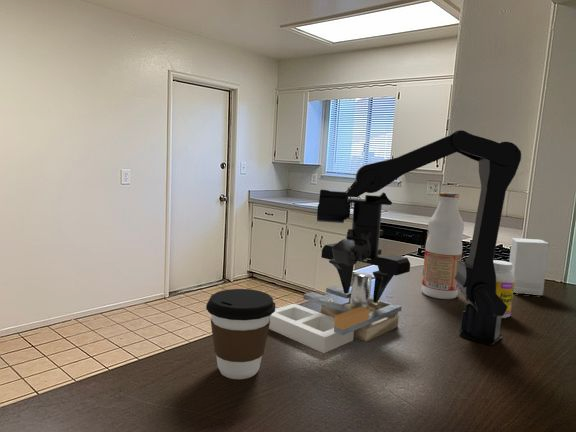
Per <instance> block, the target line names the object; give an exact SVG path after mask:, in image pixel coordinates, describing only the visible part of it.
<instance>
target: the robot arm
mask: <svg viewBox="0 0 576 432" xmlns="http://www.w3.org/2000/svg"><path fill="white" fill-rule="evenodd" d="M456 153H458V154H460V155H462V156H464V157H466V158H468V159H470V160H473V161H475V162H477V163H478V175H479V180H480V187H481V188H480V195H479V199H478V206H477V212H476V216H475V222H474V229H473V233H472V239H471V245H470V251H469V255H468V257H467V258H466V260H465V261H462V260H461V261H458V271H457V274H456V276H455V278H454V279H455V280H456V281H457V285H458V290H459V291H460V292H461V294H463V295H464V296H465V300H466V301H467V302H468V304H466V305H465V307H464V309H465V310H463V311H462V314H461V321H460V322H461V323H460V332H459V336H460V337H464V338H467V339H469V340H473V341H475V342H479V343H483V344H485V345H489V346H493V345H495V344H496V343H497V342H498V341H500V340H501V339H502V338H503V335H502V334H501V324H502V318H501V317H502V316H503V315H504V313H505V311H506V310H507V305H506V304H505V303H504V302H503V301H502V300H501V299H500V298H499V297H498V295H497V294H496V273H495V267H494V262H493V260H495V259H494V257H495V252H496V248H497V241H498V235H499V231H500V224H501V220H502V219H501V218H502V214H503V209H504V203H505V197H506V192H507V190H508V188H509V186H510V184H511V183H512V181H513V179H514V177H515V176H516V174H517V171H518V169H519V166H520V163H521V160H522V151H521V149H520V148H519V147H518V146H517V145H516V144H515V143H513V142H509V141H499V142H497V141H494V140H492V139H488V138H485V137H481V136H480V135H479V136H478V135H475V134H472V133H470V132H467V131H465V130H460V129H459V130H455V131H452V132H451V133H450V132H449V134H447V135H446V136H444V137H441V138H439V139H436V140H435V141H432V142H430V143H428V144H425V145H423V146H420V147H417V148H416V149H413V150H411V151H408V152H406V153H403V154H401V155H399V156H397V157H394V158H390V159H384V160H381V161H376V162H372V163H367V164H364V165H362V166H360V167H359V169H357V171H356V174H355V177H354V178H355V180H354V181H353V183H352V184H351V185H350V186H348V187H347V190H346V191H342V190H340V191H337V190H330V189H323V188H321V189H320V190H319V198H318V205H317V210H316V213H317V214H316V222H320V223H331V224H332V223H336V224H344V223H345V221H347V220H350V217H351V204H352V203H353V211H352V222H351V223H352V224H351V228H348V229H347V232H346V238H343V239H341V240H339V241H338V242H335V243H329V244H324V246H323V247H322V248H321V255H320V258H321V259H326V260H328V262H329V264H331V265H332V266H334V267H335V269H336V270H337V273H338V276H339V279H340V283H341V288H343V290H344V293H345V294H347V293H349V290H350V288H351V286H352V277H353V273H354V266H355V265H356V264H357V262H360V263H365V264H368V265H373V266H376V267H377V268H378V270H375V271H372V276H373V277H374V284H373V285H374V286H373V295H372V296H373V302H374V303H376V302H378V300H379V299H380V300H381V297H382V295H383V293H384V291H385V289H386V288H387V286H388V284H389V283H390V282H391V280H392V279H393V278H394V276H401V275H403V274H406V273H410V271H411V263H410V262H411V261H410V260H409V258H408V257H404V256H401V255H395V254H390V255H386V256H381V255H382V249H380V248H379V247H380V246H379V245H380V236H381V237H382V236H383V235H384V229H381V220H382V210H383V209H382V206H383V205H385V206H391V205H392V204H393V202H392V201H391V200H390V198H388V196H387V194H386V193H385V192H384V191H383V192H382V193H381V194H380V195H369V194H374V193H377V192H380V190H382V189H384V188H386V187H388V185H390V184H392V183H393V182H394V181H396V180H398V179H399V178H400V177H402V176H404V175H405V174H407V173H410V172H412V171H414V170H417V169H419V168H422V167H424V166H427V165H428V164H432V163H433V162H436V161H438V160H441V159H444V158H446V157H448V156H451V155H453V154H456ZM365 193H367V194H366V195H365V196H364V199H355V198H359V197H360V196H361V195H364V194H365Z"/></svg>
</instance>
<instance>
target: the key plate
mask: <svg viewBox="0 0 576 432" xmlns="http://www.w3.org/2000/svg"><path fill="white" fill-rule="evenodd" d="M325 293H327V294H331V295H334V296H337V297H340V298H343V299H349V298H351V290H350V289H349V293H347V294H345V293H344V290H343V287H339V286H336V285H331V286H328V287H326V289H325ZM302 298H303V300H306V301H309V302H312V303H315V304H318V305H323V306H326V307H329V308H331V309H334V310H337V311H340V312H343V313H341V314H338V315H336V316H335V322H334V332H336V333H338V334H341V335H345V334H347V333H350V332H352V331H354V330H357V329H359V328H361V327H364V326H366V325H369V324H371V323H373V322H376V321H378V320H381V319H383V318H385V317H388V316H390V315H392V314H395V313H397V312H398V313H399V312H402V309H403V307H402V305H399V304H396V303H392V302H389V301H387V300H386V301H385V300H382V299H381V298H380V299H379V300H378V302H376V303H374V302H373V297H372V296H370V303H371V304H375V305H378V306H381V307H383V308H381V309H378V310H376V311H373V312H370V313H369V309H366V308H363V307H358V308H355V309H353V308H350V307H347V306H344V305H342V304H339V303H338V302H335V301H334V298H332V297H330V296H326V295H324V294H320V293H318V292H313V291H311V292H307V293H303V297H302Z"/></svg>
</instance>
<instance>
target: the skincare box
mask: <svg viewBox="0 0 576 432" xmlns="http://www.w3.org/2000/svg"><path fill="white" fill-rule="evenodd" d="M549 246H550V243H549V242H547V241H545V240H543V239H536V238H520V237H519V238H518V237H511V243H510V253H509V261H508V262H510V263H512V269H511V272H510V273H511V274H512V275H514V277H515V285H514V292H515V293H525V294H533V295H543V296H544V288H545V280H546V272H547V271H546V270H547V263H548V262H547V261H548V254H549V253H548V252H549Z"/></svg>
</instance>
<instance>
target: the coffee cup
mask: <svg viewBox="0 0 576 432" xmlns="http://www.w3.org/2000/svg"><path fill="white" fill-rule="evenodd" d="M205 305H206V306H205V307H206V308H205V309H206V311H207V312H208V314H210V318H211V319H210V326H211V333H212V340H213V341H212V342H213V348H214V349H213V350H214V353H215V355H216V356H215V357H216V364H217V368H218V370H219V372H220V374H221V375H222V376H223V377H226V378H228V379H230V380H231V379H232V380H245V379H249V378H251V377H254V376H255V375H256V374H257V373H258V371H259V369H260V368H261V362H262V358H263V355H264V353H265V349H266V343H267V340H268V334H269V331H270V329H269V325H270V315H271V314H272V313H274V312H275V309H276V302H274V298H273V297H272V296H271V295H270V294H268V293H266V292H263V291H261V290H255V289H251V288H250V289H247V288H232V289H231V288H230V289H229V288H228V289H225V290H220V291H217V292H215V293H213V294H211V295H210V298H209V299H208V300H207V302H206V304H205Z"/></svg>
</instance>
